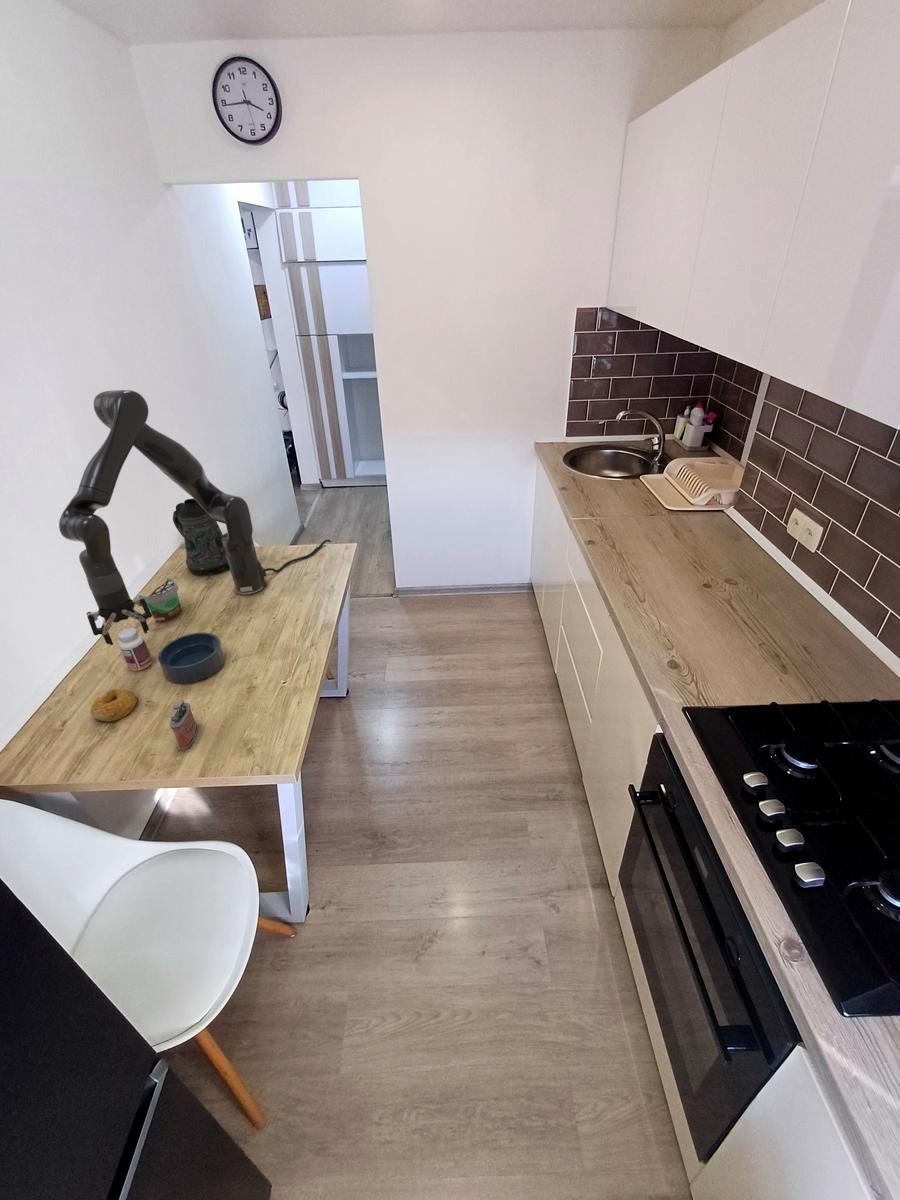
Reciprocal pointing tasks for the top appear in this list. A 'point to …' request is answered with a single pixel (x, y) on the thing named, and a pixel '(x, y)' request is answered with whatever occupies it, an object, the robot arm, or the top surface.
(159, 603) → the food container
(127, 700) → the bagel
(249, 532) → the robot arm
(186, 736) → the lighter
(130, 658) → the pill bottle
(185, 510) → the beer stein
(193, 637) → the bowl
